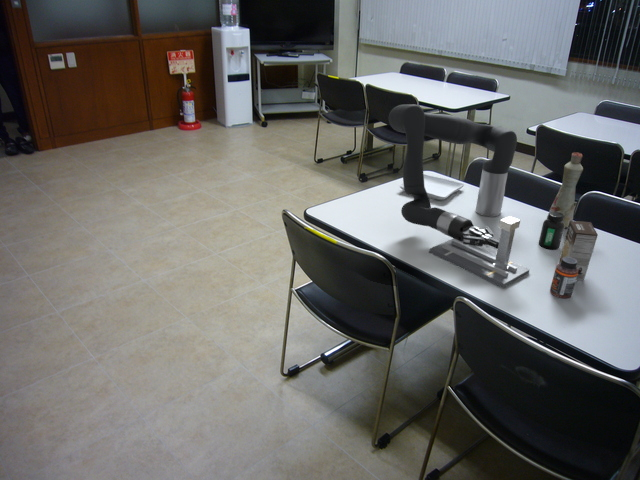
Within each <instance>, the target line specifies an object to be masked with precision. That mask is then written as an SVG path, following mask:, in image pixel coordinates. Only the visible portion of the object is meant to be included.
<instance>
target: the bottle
mask: <svg viewBox="0 0 640 480" xmlns="http://www.w3.org/2000/svg"><path fill="white" fill-rule="evenodd" d="M570 157H571V159H570V161H568V162H567V163H566V164H565V165H564V166H563V167H564V168H563V175H562V183H561V185H560V188H559V190H558V193H557V194H556V196H555V198H554V200H553V202H552V204H551V207H550V208H549V211H548V213H549V212H560V213H562V214H563V215H564V220H563V221H562V222H563V223H564V224H565V228H568V226H569V222H570V221H574V214H575V213H574V210H575V201H576V200H575V198H576V189H577V188H576V186H577V184H578V182H579V179H580V177H581V175H582V173H583V171H584V167H583V166H582V164H581V161H582V159H583V154H582V153H581V152H572V153H571V156H570ZM546 219H548V215H547V217H546ZM565 228H564V229H565Z"/></svg>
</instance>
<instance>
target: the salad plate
mask: <svg viewBox="0 0 640 480" xmlns="http://www.w3.org/2000/svg"><path fill="white" fill-rule="evenodd" d="M423 174H424V173H423ZM464 186H465V183H462V182H459V181H455V180H450V179H447V178H443V177H439V176H434V175H429V174H424V187H425V189H426V192H427V195H428V198H429V199H433V200H437V201H443V200H445V199H447V198H448V197H449V196H451V195H453V194H455V193H456V192H458V191H459V190H461V189H462V188H463V187H464ZM399 188H400V189H401V190H403V191H404V183H403V182H402V184H400V185H399Z"/></svg>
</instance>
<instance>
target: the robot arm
mask: <svg viewBox="0 0 640 480" xmlns="http://www.w3.org/2000/svg"><path fill="white" fill-rule="evenodd" d="M388 122H389V126H390V127H391V128H392V129H393V130H394V131H396V132H398V133H402V134H404V133H405V137H406V154H405V158H404V161H403V164H402V179H403V180H402V181H403V182H402V184H403V183H404V190H403V191H404V192H405V194H406V195H412V197H413V200H410V201H408V202H406V203H404V204H403V205H402V207H401V215H402V217H403V219H404V220H406V221H407V222H408V223H411V224H414V225H419V226H424V227H428V228H429V227H430V228H431V229H434V230H437V232H440V233H442V234H443V235H445V236H448V237H449V238H451V239H453V238H454V239H456V240H458V241H463V244H466V245H475V246H477V247H483V246H489V247H491V248H493V249H497V250H498V245H499V240H500V239H496V238H494V235H495V234H494V232H493V230H492V229H491V227H489V226H485V227H484V228H481V227H479V226H476V225H474V223H473V222H472V220H471V219H469V218H466V217H464V216H461V215H459V214H456V213H454V212H450V211H448V210H445V209H442V208H439V207H436V206H435V207H432V206H431V201H430V200H431V199H430V198H428V195H427V192H426V189H425V187H424V159H423V157H424V144H425V136H427V137H429V138H432V139H435V140H439V141H442V142H447V143H450V144H455V145H468V144H474V145H477V146H480V147H483V148H485V149H487V150H488V151H492V152H493V155H492V158H491V159H487V160H485V161H483V165H482V170H481V171H482V172H481V176H480V183H479V189H478V193H477V194H478V195H477V199H476V205H475V206H476V207H475V212H476V213H477V214H479V215H482V216H484V217H499V215H500V214H501V212H502V208H503V202H504V197H505V192H506V184H507V179H508V173H509V169H510V167H511V165H512V164H513V160H514V156H515V152H516V148H517V143H518V138H517V137H518V136H517V134H516V132H514V131H513V130H511V129H508V128H507V127H503V126H501V125H500V126H499V125H492V124H481V123H477V122H475V121H473V120H470V119H468V118H466V117H460V116H457V115H453V114H445V113H430V112H429V113H428V112H425V111H424V110H423V108H422V107H421V106H420V105H418V104H414V103H413V104H410V103H409V104H399V105H397V106H394V107H393V108H392V109H391V110H390V112H389V114H388Z"/></svg>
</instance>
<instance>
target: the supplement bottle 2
mask: <svg viewBox="0 0 640 480" xmlns="http://www.w3.org/2000/svg"><path fill="white" fill-rule="evenodd" d="M576 265H577V260H576V259H574V258H571V257H563V258H562V261H561V263H559V262H558V263H557V264H556V266H555V270H554V273H553V277H552V282H551V285H550V289H549V290H550V293H551V294H552V295H553V296H555V297H557V298H561V299H568V298H571V296H572V295H573V291H574V288H575V285H576V281H577V280H576V278H577V275H578V268H577V267H576Z"/></svg>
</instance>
